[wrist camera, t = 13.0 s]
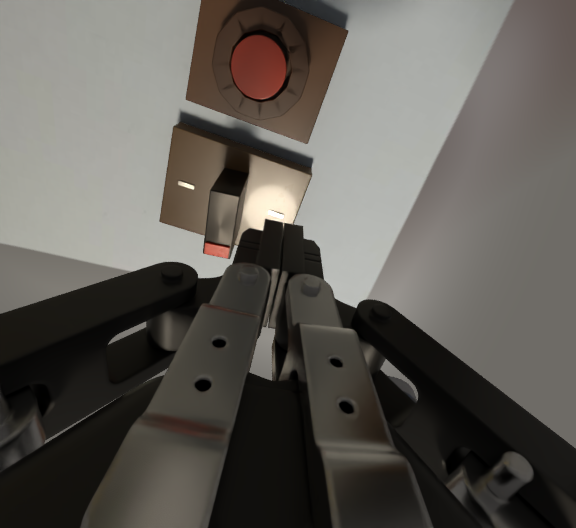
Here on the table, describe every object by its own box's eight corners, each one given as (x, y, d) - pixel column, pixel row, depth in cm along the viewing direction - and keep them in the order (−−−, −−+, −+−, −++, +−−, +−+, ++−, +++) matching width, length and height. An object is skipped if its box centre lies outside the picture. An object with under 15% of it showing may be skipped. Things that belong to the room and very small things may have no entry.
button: (294, 48, 22) (294, 47, 21) (277, 104, 24) (276, 107, 23) (242, 26, 22) (238, 25, 20) (229, 85, 23) (225, 87, 22)
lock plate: (311, 168, 30) (312, 175, 28) (280, 248, 35) (279, 259, 33) (180, 121, 28) (172, 126, 26) (166, 213, 33) (158, 222, 31)
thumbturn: (223, 167, 28) (209, 190, 23) (249, 173, 28) (239, 197, 24) (216, 224, 31) (201, 255, 26) (239, 229, 31) (229, 261, 26)
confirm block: (344, 32, 25) (352, 29, 21) (306, 138, 29) (308, 149, 25) (213, -25, 23) (199, -38, 20) (193, 96, 27) (178, 102, 24)
